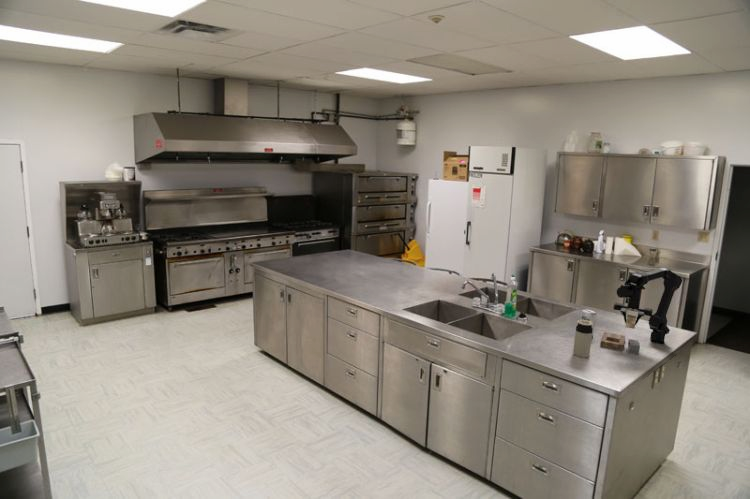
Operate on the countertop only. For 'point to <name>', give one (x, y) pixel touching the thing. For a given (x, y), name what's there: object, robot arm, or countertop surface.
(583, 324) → the travel mug
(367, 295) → the countertop surface
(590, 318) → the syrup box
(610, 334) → the socket block
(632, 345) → the grey rectangular block
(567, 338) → the countertop surface
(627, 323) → the square bit
